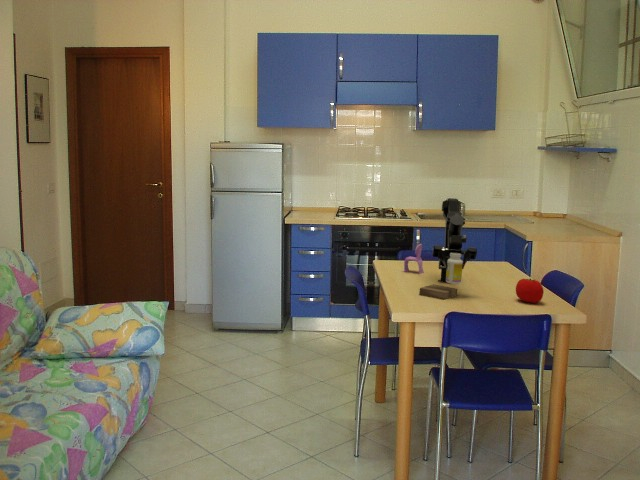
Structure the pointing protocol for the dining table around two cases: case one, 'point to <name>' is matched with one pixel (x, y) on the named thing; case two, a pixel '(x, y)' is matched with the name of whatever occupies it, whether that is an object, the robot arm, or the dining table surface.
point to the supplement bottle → (454, 269)
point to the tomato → (529, 290)
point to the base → (438, 291)
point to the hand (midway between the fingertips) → (454, 268)
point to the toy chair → (417, 259)
